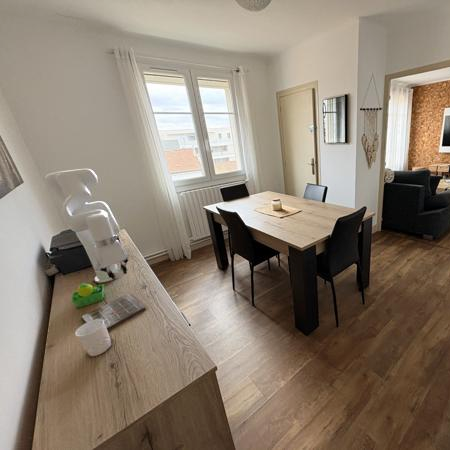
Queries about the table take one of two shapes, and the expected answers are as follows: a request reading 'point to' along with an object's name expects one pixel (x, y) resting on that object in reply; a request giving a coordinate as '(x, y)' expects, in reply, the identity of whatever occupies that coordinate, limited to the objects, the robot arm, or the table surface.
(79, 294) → the fruit basket
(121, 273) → the white round puck
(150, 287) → the table surface
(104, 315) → the board
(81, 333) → the white cup
